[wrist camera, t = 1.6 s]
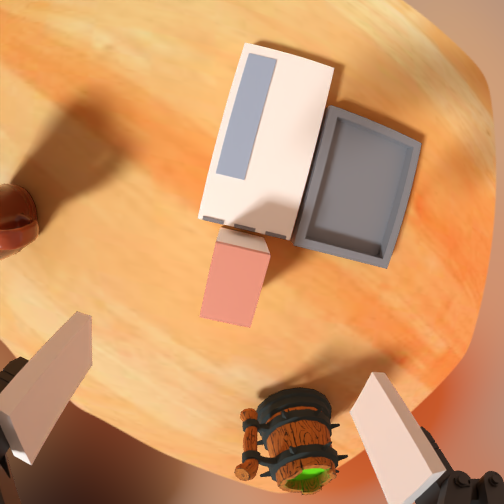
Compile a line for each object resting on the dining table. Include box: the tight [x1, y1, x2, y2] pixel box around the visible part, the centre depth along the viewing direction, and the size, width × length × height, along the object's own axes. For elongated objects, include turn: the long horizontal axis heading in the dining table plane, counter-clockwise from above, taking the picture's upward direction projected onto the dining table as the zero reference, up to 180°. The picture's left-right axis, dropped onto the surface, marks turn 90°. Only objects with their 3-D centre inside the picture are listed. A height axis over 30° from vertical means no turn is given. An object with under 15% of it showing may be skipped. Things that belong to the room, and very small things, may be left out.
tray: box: [290, 105, 422, 269], centre depth 26 cm, size 13×10×2 cm
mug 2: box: [234, 388, 348, 495], centre depth 28 cm, size 13×10×12 cm
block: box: [200, 227, 271, 328], centre depth 25 cm, size 6×4×6 cm, turn 166°
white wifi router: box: [198, 43, 334, 240], centre depth 24 cm, size 16×8×2 cm, turn 166°
